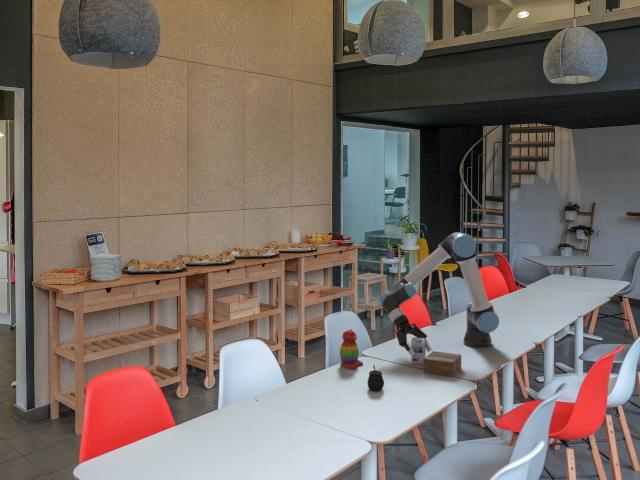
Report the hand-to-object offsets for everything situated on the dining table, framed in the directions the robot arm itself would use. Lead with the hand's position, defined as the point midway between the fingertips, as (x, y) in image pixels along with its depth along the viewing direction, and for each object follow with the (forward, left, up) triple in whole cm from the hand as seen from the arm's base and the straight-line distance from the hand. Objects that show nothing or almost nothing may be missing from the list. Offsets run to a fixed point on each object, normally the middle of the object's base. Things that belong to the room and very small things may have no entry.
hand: (422, 353), depth 305 cm
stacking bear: (+20, -30, -5) cm, 37 cm away
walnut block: (+9, +14, -5) cm, 17 cm away
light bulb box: (-1, -2, -5) cm, 5 cm away
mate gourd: (+47, -5, -5) cm, 47 cm away
